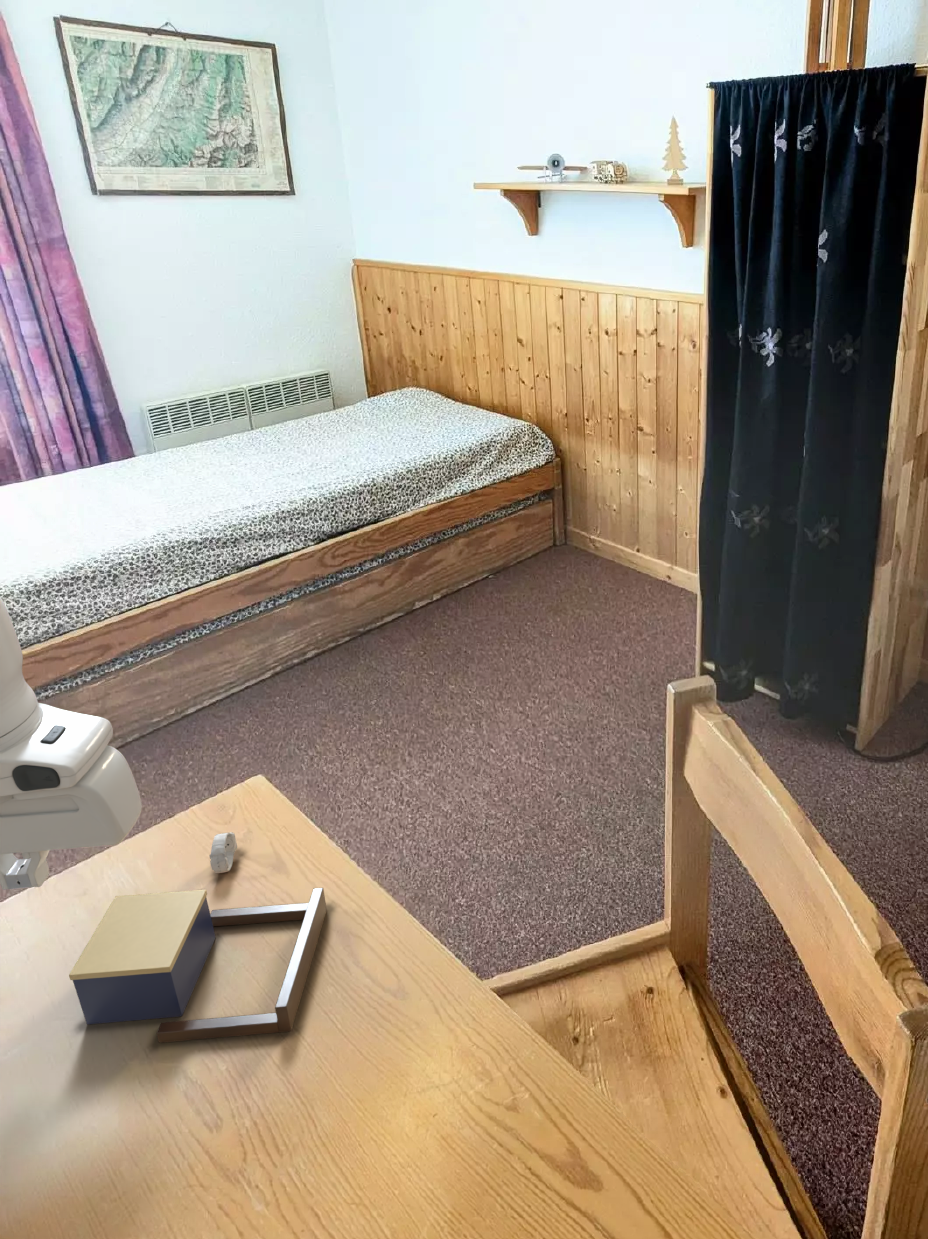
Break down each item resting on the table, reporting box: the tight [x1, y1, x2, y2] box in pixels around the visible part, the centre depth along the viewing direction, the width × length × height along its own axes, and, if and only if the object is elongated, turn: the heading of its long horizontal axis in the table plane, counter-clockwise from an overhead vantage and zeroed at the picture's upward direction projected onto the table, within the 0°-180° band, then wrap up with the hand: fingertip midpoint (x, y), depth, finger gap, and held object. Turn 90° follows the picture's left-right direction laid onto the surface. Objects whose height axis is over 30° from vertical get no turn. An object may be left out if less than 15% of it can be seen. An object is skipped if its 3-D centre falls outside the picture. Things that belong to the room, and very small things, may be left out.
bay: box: [156, 887, 328, 1044], centre depth 76 cm, size 11×13×3 cm
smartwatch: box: [209, 831, 238, 874], centre depth 88 cm, size 4×2×4 cm, turn 13°
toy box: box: [68, 888, 217, 1025], centre depth 75 cm, size 8×8×6 cm
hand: (27, 882), depth 71 cm, fingers closed
